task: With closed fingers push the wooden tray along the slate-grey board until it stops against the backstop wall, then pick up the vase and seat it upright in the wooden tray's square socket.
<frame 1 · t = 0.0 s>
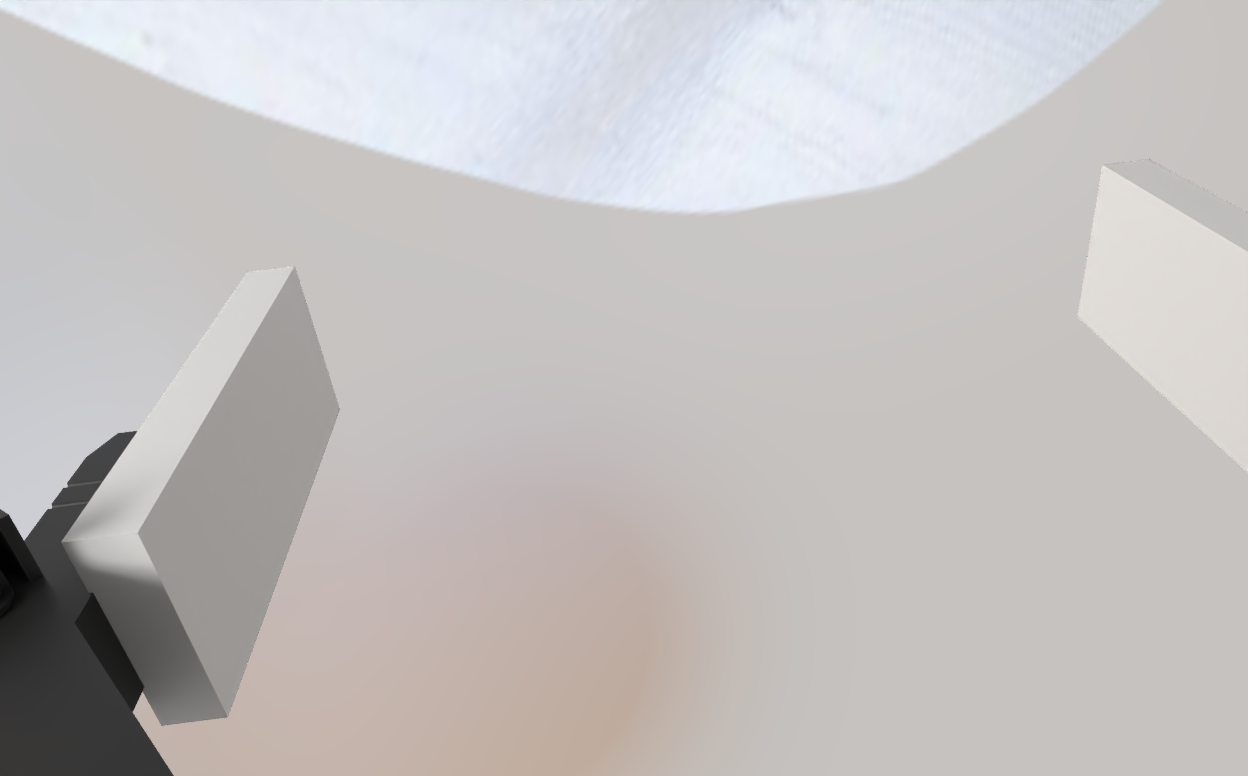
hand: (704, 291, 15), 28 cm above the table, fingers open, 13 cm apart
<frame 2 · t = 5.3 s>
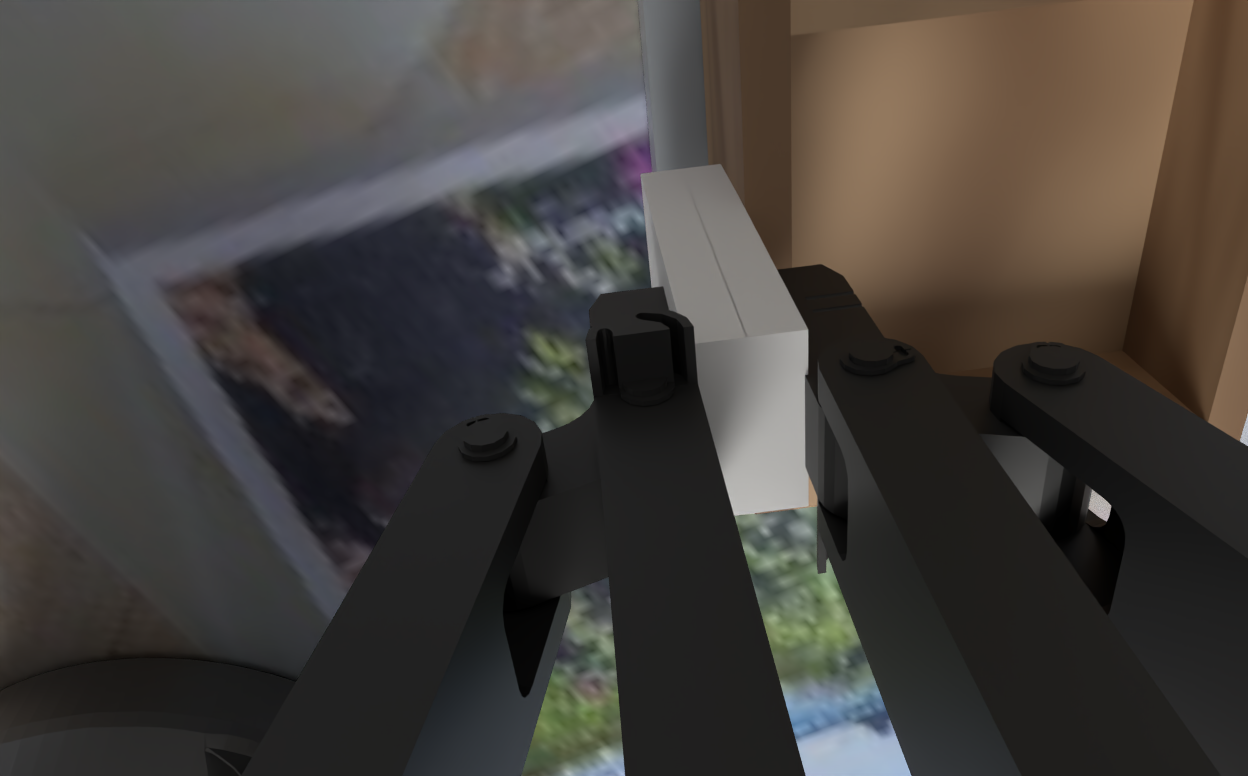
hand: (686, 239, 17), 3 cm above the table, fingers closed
board: (1158, 135, 20), on the table
wooden tray: (981, 217, 17), point 3 cm above the table, slide at 0.0 cm, touching gripper
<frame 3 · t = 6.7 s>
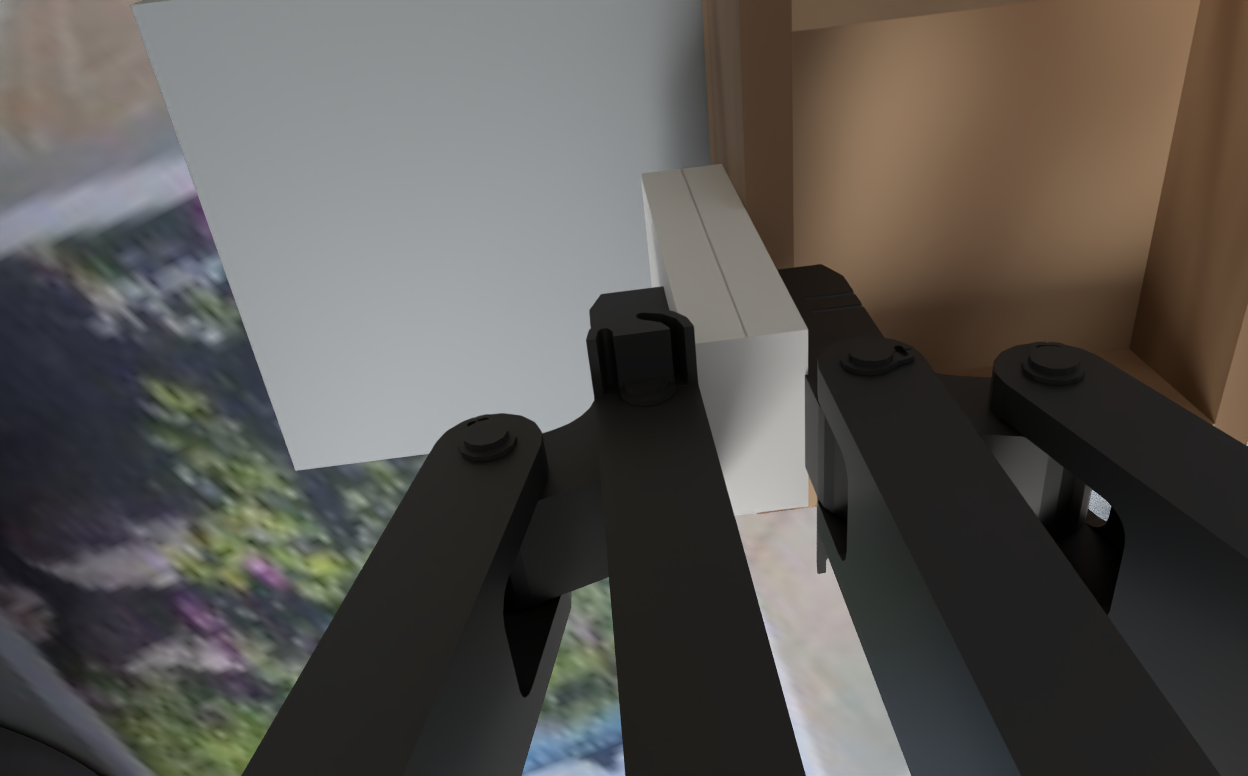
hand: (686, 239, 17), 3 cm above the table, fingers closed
board: (755, 183, 20), on the table
wooden tray: (985, 214, 17), point 3 cm above the table, slide at 8.9 cm, touching gripper
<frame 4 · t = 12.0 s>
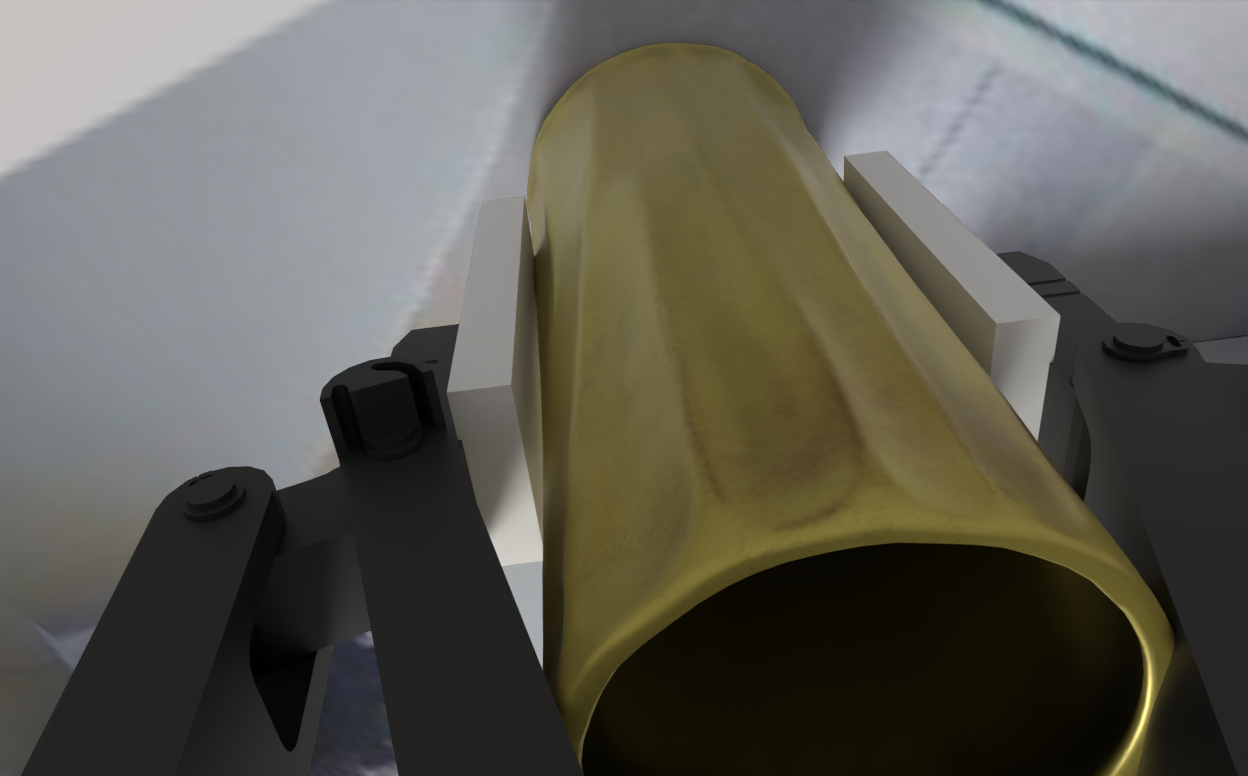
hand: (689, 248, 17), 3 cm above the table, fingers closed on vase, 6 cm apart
vase: (670, 186, 20), on the table, touching gripper
board: (883, 537, 25), on the table
when the fingers open (7 cm above the table, at t = 16.9 s): vase drops 1 cm, resting on wooden tray.
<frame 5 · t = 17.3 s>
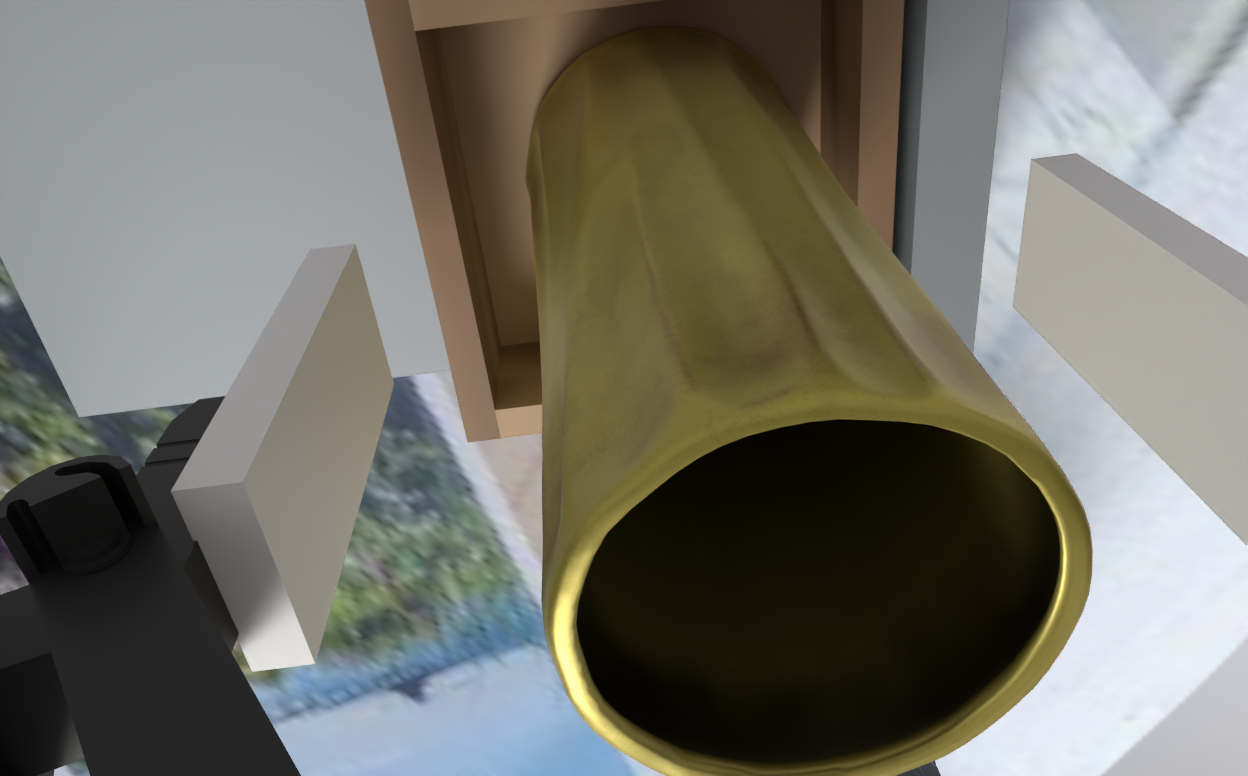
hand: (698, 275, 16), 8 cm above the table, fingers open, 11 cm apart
box: (791, 666, 33), on the table
vase: (660, 163, 21), point 2 cm above the table, touching wooden tray
board: (462, 165, 23), on the table
wooden tray: (650, 185, 20), point 3 cm above the table, slide at 9.6 cm, touching vase
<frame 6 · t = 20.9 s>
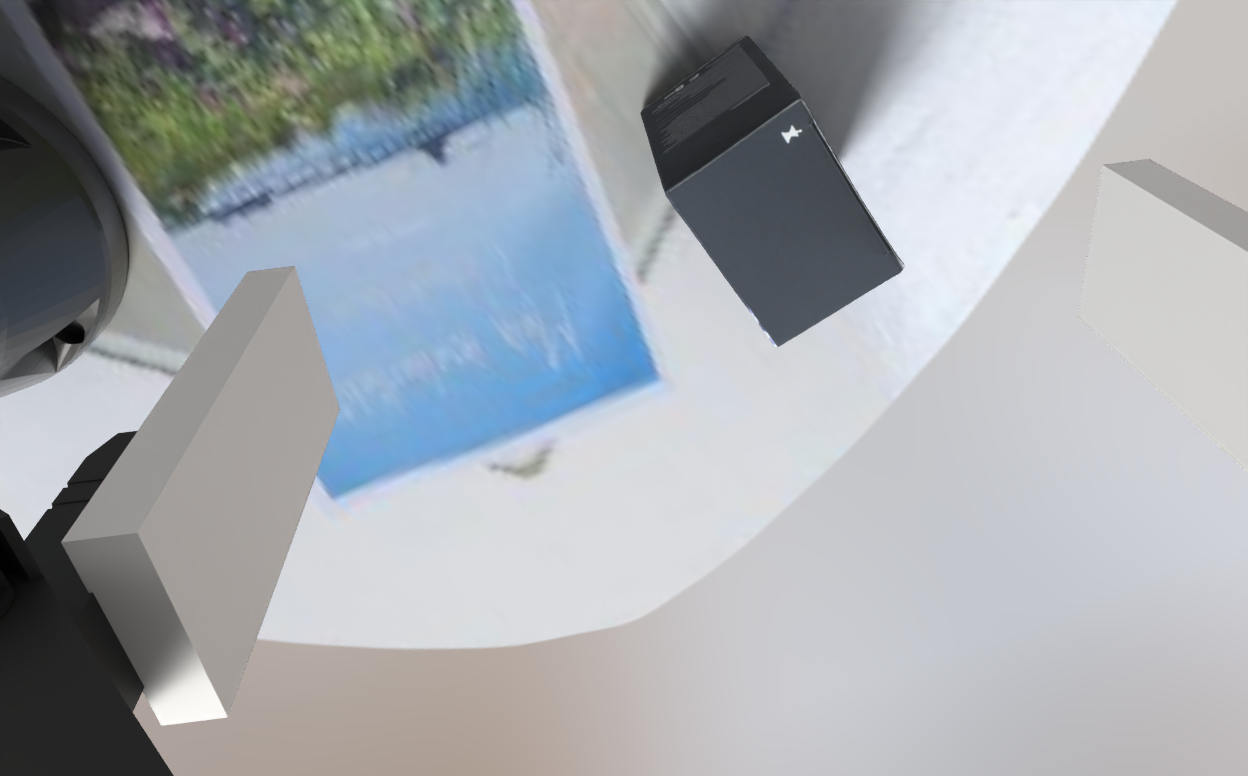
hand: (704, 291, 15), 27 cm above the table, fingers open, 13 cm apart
box: (737, 143, 42), on the table
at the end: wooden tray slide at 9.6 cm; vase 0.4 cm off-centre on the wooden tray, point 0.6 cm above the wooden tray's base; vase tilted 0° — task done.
